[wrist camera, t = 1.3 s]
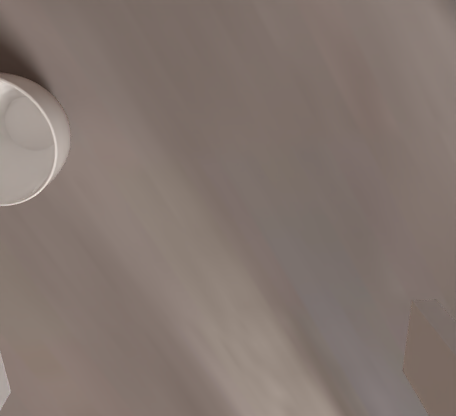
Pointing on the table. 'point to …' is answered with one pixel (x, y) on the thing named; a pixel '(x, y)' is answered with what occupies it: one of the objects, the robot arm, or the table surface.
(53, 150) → the cup
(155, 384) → the table surface
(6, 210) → the table surface
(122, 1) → the table surface
